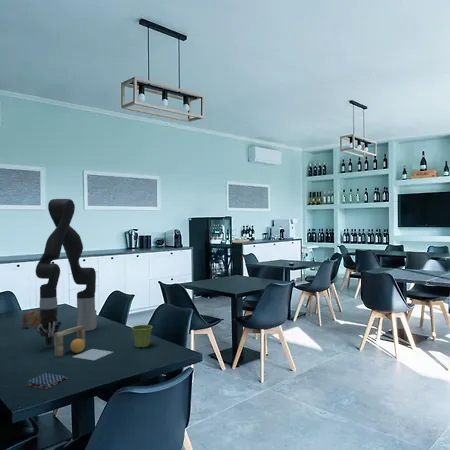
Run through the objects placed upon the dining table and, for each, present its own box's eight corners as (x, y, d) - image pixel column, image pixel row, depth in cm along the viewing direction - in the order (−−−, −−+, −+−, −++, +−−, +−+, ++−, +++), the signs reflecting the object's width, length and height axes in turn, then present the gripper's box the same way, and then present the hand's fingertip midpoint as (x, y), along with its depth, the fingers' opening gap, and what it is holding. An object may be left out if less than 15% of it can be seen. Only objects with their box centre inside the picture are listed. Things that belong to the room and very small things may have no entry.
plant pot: (145, 341, 199) (145, 323, 199) (156, 345, 192) (156, 326, 192) (128, 346, 192) (127, 327, 192) (139, 350, 186) (139, 330, 186)
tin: (26, 329, 227) (25, 313, 227) (20, 329, 228) (20, 313, 228) (43, 323, 242) (43, 308, 242) (38, 322, 243) (38, 308, 243)
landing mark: (92, 349, 188) (92, 348, 188) (113, 352, 183) (113, 351, 183) (72, 357, 177) (72, 356, 177) (94, 360, 172) (94, 360, 172)
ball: (77, 350, 187) (76, 336, 187) (88, 350, 185) (86, 337, 185) (68, 354, 182) (66, 341, 182) (78, 355, 180) (77, 341, 179)
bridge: (54, 355, 179) (54, 333, 179) (80, 346, 193) (80, 325, 193) (59, 356, 178) (59, 333, 178) (85, 347, 192) (85, 325, 192)
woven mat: (23, 387, 146) (23, 381, 146) (46, 377, 156) (46, 371, 156) (46, 391, 142) (46, 385, 142) (68, 380, 152) (68, 374, 152)
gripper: (42, 310, 183) (43, 349, 183) (65, 304, 195) (66, 341, 195) (30, 309, 187) (31, 347, 187) (54, 303, 199) (54, 340, 199)
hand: (49, 344), depth 191 cm, fingers closed
